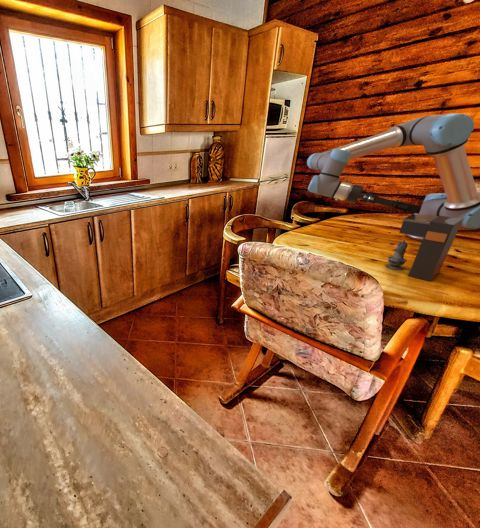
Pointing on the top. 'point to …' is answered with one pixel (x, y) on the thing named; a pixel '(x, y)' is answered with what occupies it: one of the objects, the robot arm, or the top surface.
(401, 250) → the dark grey chess piece
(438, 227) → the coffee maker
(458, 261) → the top surface
